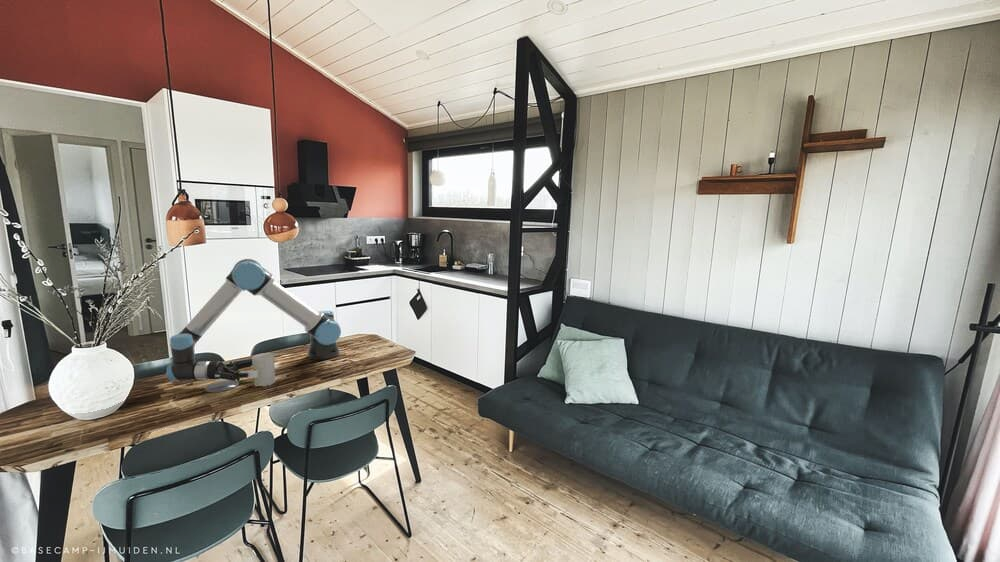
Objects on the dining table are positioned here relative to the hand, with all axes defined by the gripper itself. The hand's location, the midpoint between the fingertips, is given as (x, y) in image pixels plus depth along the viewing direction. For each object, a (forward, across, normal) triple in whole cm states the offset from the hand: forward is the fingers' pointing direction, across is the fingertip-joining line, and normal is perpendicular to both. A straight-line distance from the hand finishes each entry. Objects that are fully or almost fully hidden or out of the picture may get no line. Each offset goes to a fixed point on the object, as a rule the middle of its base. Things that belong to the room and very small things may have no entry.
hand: (264, 367), depth 180 cm
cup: (0, 0, -7) cm, 7 cm away
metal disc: (-16, +2, -7) cm, 18 cm away
